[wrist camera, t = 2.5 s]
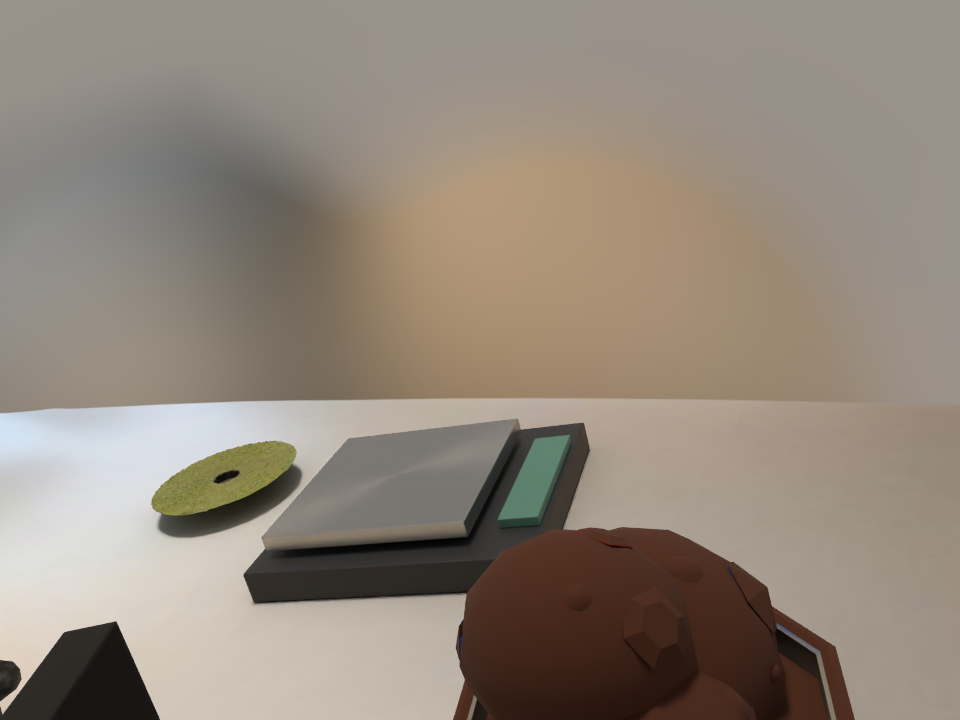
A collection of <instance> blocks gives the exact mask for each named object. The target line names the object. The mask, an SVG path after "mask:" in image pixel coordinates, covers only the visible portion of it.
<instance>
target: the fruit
mask: <svg viewBox="0 0 960 720" xmlns="http://www.w3.org/2000/svg"><path fill="white" fill-rule="evenodd" d="M20 681H21V673H20V669H19V668H18V667H17V666H16V664H15V663H14V662H12V661H3V660H0V701H1V700H2V699H4V698H5V697H6V696H8V695H9V694H10V693H12V692H13V691H14V690H15V689H17V687H18V685H19V683H20ZM1 716H2V712H1V708H0V718H1Z"/></svg>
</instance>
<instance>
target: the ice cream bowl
mask: <svg viewBox="0 0 960 720" xmlns="http://www.w3.org/2000/svg"><path fill="white" fill-rule="evenodd" d="M456 650H457V654H458V657H459V660H460V668H461V671H462V673H463V676H464V678H465V682H464V685H463V689H462V692H461V695H460V699H459V702H458V705H457V709H456V712H455V716H454V719H453V720H855V719H854V715H853V711H852V708H851V704H850V700H849V696H848V693H847V689H846V685H845V681H844V677H843V674H842V670H841V666H840V662H839V659H838V655H837V651H836V647H835V646H833V645H832V644H830V643H829V642H827V641H825V640H824V639H822V638H821V637H819V636H818V635H816V634H814V633H813V632H811V631H810V630H808V629H807V628H805V627H803V626H802V625H800V624H799V623H797V622H796V621H794V620H792V619H791V618H789V617H788V616H786V615H785V614H783V613H782V612H780V611H778V610H777V609H775V608H774V607H772V605H771V601H770V597H769V592H768V588H767V587H766V586H765V585H764V584H762V583H761V582H760V581H758V580H757V579H756V578H754V577H753V576H752V575H750V574H749V573H747V572H746V571H745V570H743V569H742V568H741V567H739V566H738V565H737V564H735V563H734V562H729V561H727V560H726V559H724V558H722V557H720V556H718V555H717V554H715V553H713V552H711V551H709V550H708V549H706V548H704V547H702V546H700V545H699V544H697V543H695V542H693V541H691V540H690V539H687V538H685V537H683V536H681V535H678V534H676V533H674V532H672V531H669V530H659V529H642V528H626V527H621V528H617V529H613V530H609V531H608V530H605V529H599V528H585V529H580V530H561V529H553V530H551V531H548V532H546V533H543V534H541V535H539V536H537V537H534V538H532V539H530V540H527V541H525V542H523V543H520V544H518V545H516V546H513V547H511V548H509V549H506V550H504V551H502V552H501V553H500V554H499V555H498V556H497V558H496V559H495V560H494V561H493V562H492V564H491V565H490V566H489V567H488V568H487V570H486V571H485V572H484V573H483V574H482V576H481V577H480V578H479V579H478V580H477V582H476V583H475V584H474V585H473V586H472V588H471V589H470V590H469V591H468V592H467V596H466V604H465V612H464V619H463V621H462V622H461V624H460V626H459V630H458V637H457V644H456Z"/></svg>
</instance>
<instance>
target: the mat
mask: <svg viewBox="0 0 960 720" xmlns="http://www.w3.org/2000/svg"><path fill="white" fill-rule="evenodd" d="M295 455H296V449H295V448H294V447H293V446H292V445H290V444H286V443H284V442H277V441H269V442H268V441H265V442H262V443H260V442H258V443H256V444H248V445H243V446H241V447H239V446H238V447H237V448H233V449H228V450H226V451H223V452H221V453H216V454H214V455H212V456H210V457H207V458H205V459H203V460H200V461H198V462H196V463H194V464H192V465H190V466H188V467H187V468H186V469H183V470H182V471H180V472H179V473H177V474H176V475H174V476H172V477H171V478H170V479H169V480H168V481H166V482H165V483H164V484H163V485H161V487H160V488H159V489H158V491H156V493H155V495H154V496H153V498H152V504H151V505H152V507H153V509H154V510H156V511H157V512H159V513H161V514H165V515H188V514H195V513H198V512H203V511H208V509H211V508H216V507H219V506H222V505H224V504H227V503H228V504H229V503H230V502H234V501H236V500H239V499H241V498H244V497H246V496H249V495H250V494H252V493H254V492H255V491H257V490H260V489H261V488H262V487H264V486H267V485H268V484H269V483H271V482H272V481H273V480H275V479H277V478H278V477H279V475H281V474H282V473H283V472H285V471H287V469H288V468H289V467H290V465H291V464H292V462H293V461H294V459H295V457H296V456H295Z"/></svg>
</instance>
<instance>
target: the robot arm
mask: <svg viewBox="0 0 960 720" xmlns="http://www.w3.org/2000/svg"><path fill="white" fill-rule="evenodd" d="M0 720H160V719H159V716H158V714H157V712H156V710H155V707H154V705H153V703H152V701H151V698H150V696H149V694H148V692H147V689H146V687H145V685H144V683H143V680H142V678H141V676H140V674H139V671H138V669H137V667H136V665H135V662H134V660H133V658H132V656H131V653H130V651H129V649H128V647H127V644H126V642H125V640H124V638H123V635H122V633H121V631H120V629H119V626H118V624H117V622H111V623H106V624H102V625H97V626H92V627H87V628H82V629H78V630H73V631H68V632H64V633H63V635H62V636H61V637H60V639H59V640H58V641H57V643H56V644H55V645H54V647H53V648H52V649H51V651H50V652H49V653H48V655H47V656H46V657H45V659H44V660H43V661H42V663H41V664H40V665H39V667H38V668H37V669H36V671H35V672H34V674H33V675H32V676H31V678H30V679H29V680H28V682H27V683H26V684H25V686H24V687H23V688H22V690H21V691H20V692H19V694H18V695H17V696H16V698H15V699H14V700H13V702H12V703H11V704H10V706H9V707H8V708H7V710H6V711H5V712H4V714H3V715H2V716H1V718H0Z"/></svg>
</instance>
